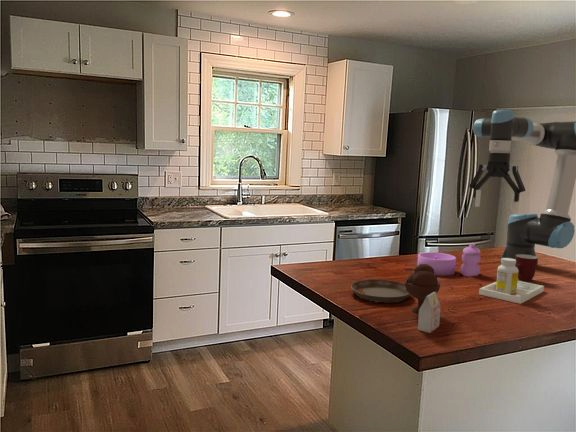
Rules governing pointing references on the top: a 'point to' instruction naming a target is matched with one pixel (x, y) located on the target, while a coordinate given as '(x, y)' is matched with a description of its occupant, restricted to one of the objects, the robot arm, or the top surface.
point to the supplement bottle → (507, 277)
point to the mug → (526, 266)
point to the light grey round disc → (523, 286)
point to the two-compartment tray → (519, 298)
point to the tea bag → (429, 314)
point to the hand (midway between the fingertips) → (494, 208)
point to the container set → (452, 262)
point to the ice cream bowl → (421, 284)
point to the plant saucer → (380, 290)
